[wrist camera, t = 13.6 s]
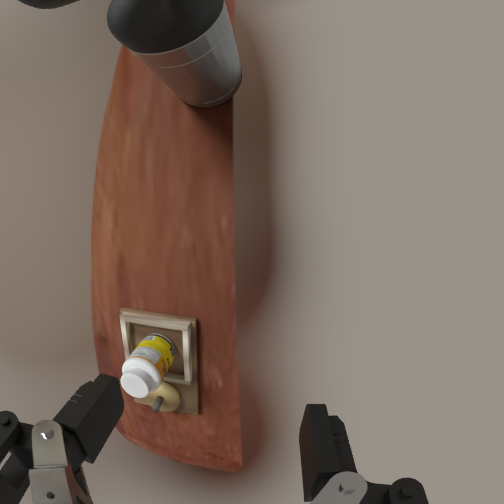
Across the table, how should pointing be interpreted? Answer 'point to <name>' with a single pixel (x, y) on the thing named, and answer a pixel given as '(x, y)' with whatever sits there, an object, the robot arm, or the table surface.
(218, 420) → the table surface
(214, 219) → the table surface
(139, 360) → the supplement bottle
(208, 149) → the table surface
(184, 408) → the board
